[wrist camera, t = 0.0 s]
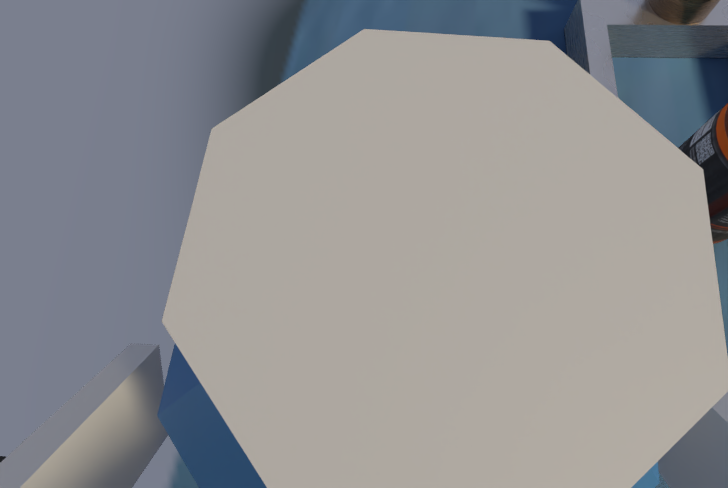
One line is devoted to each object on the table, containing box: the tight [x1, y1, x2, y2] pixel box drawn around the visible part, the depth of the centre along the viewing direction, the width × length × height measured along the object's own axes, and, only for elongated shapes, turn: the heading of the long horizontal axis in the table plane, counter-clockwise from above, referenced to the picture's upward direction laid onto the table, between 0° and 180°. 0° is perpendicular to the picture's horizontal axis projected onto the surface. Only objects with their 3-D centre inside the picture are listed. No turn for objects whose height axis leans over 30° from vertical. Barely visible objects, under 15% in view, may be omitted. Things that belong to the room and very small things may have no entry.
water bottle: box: [157, 29, 728, 488], centre depth 15 cm, size 9×9×25 cm
